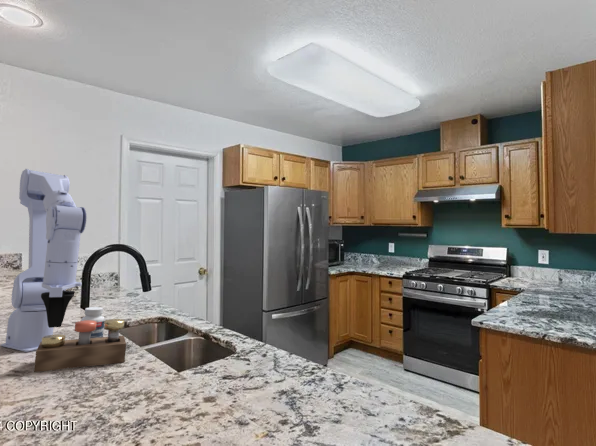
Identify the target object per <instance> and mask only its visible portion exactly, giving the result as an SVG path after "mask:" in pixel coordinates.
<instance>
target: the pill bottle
mask: <svg viewBox="0 0 596 446" xmlns="http://www.w3.org/2000/svg"><path fill="white" fill-rule="evenodd" d="M103 313H104V307H100V306H90V307H85V309H84V315H85V316H83V317H82V318H81V319H80V321H86V320H92V321H96V322H97V324H96V330H94V331H91V337H90V338H101V337H104V331H105V329H104V323H105V321H106V320H105V317H104V316H103V315H102V314H103Z"/></svg>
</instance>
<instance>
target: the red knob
mask: <svg viewBox="0 0 596 446" xmlns="http://www.w3.org/2000/svg"><path fill="white" fill-rule="evenodd" d="M96 324H97V322H96V321H92V320H86V321H81V320H79V321H76V322H75V324H74V332H76V333H78V339H79V340H78V345H87V344H90V337H91V331H94V330H96Z"/></svg>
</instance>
